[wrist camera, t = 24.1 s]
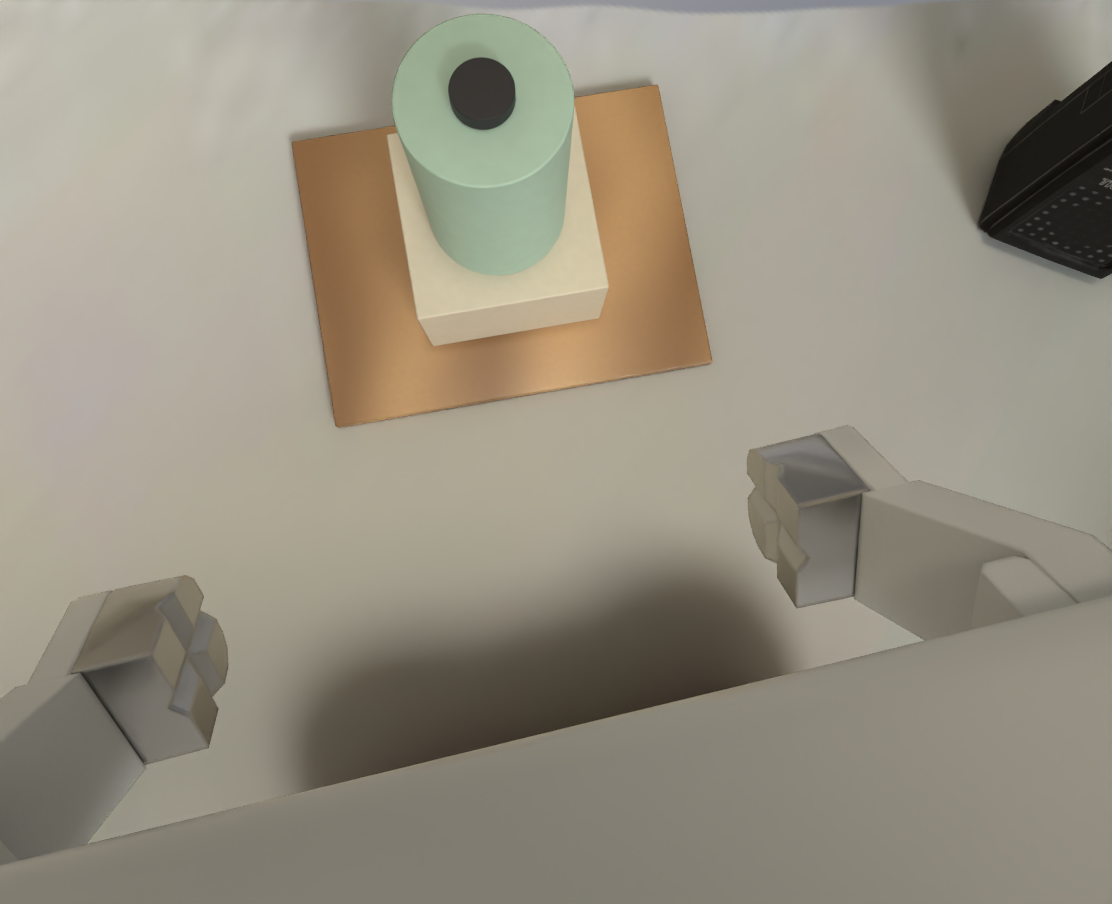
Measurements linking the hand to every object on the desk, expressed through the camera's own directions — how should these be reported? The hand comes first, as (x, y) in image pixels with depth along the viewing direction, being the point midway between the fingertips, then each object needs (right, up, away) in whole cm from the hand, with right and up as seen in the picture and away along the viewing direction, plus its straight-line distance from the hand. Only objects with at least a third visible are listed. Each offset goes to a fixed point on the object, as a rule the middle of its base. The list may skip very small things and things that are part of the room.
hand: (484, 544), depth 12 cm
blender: (-2, +11, +26) cm, 28 cm away
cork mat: (-2, +11, +27) cm, 29 cm away
